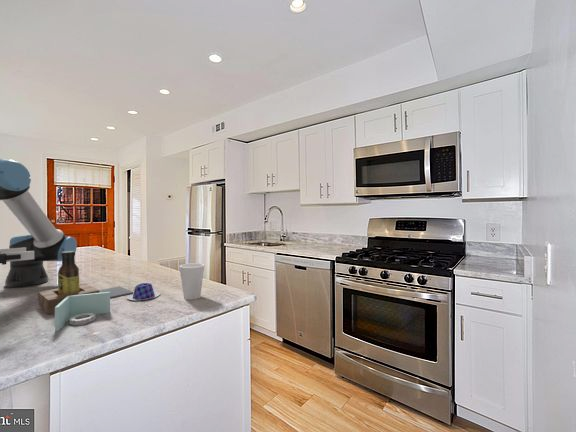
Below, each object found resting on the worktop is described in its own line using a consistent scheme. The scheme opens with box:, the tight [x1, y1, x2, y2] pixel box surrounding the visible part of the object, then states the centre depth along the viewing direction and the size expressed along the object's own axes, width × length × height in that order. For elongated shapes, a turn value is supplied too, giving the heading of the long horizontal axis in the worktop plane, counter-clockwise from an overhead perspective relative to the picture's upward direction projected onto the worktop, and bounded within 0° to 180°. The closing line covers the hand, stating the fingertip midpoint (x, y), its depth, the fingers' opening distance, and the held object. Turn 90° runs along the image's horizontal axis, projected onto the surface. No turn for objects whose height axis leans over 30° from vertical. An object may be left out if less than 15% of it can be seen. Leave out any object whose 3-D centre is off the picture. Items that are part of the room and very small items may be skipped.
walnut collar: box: [37, 283, 100, 316], centre depth 106 cm, size 15×15×5 cm
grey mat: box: [98, 285, 134, 299], centre depth 120 cm, size 14×12×1 cm
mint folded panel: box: [54, 292, 111, 332], centre depth 91 cm, size 12×12×8 cm
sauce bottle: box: [57, 251, 80, 296], centre depth 106 cm, size 6×6×20 cm
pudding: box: [126, 282, 161, 301], centre depth 116 cm, size 12×12×5 cm
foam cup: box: [179, 262, 205, 301], centre depth 115 cm, size 10×9×13 cm
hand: (30, 253), depth 97 cm, fingers open, 13 cm apart
